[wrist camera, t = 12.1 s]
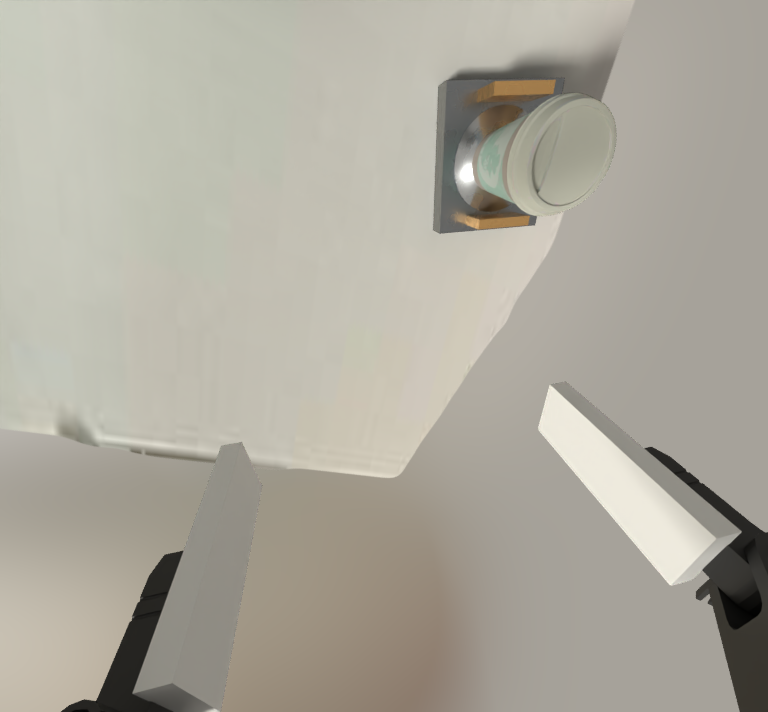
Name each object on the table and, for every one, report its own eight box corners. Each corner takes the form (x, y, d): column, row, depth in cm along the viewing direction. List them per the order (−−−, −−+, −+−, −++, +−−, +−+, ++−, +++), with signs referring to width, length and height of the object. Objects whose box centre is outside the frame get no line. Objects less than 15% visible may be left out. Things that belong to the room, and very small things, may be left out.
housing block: (438, 86, 31) (461, 70, 26) (549, 83, 33) (590, 68, 28) (433, 230, 39) (450, 239, 34) (523, 222, 40) (552, 229, 35)
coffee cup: (501, 91, 30) (591, 52, 20) (546, 154, 34) (641, 148, 24) (444, 169, 33) (498, 170, 23) (492, 220, 37) (556, 240, 27)
